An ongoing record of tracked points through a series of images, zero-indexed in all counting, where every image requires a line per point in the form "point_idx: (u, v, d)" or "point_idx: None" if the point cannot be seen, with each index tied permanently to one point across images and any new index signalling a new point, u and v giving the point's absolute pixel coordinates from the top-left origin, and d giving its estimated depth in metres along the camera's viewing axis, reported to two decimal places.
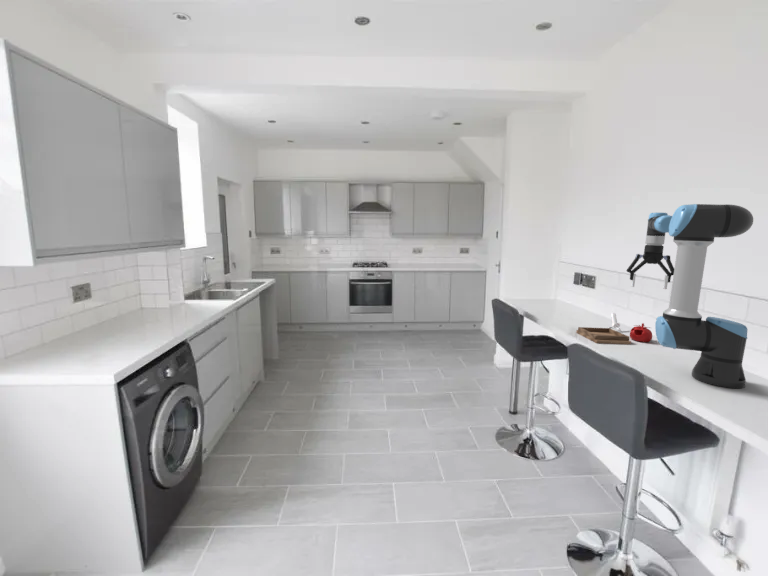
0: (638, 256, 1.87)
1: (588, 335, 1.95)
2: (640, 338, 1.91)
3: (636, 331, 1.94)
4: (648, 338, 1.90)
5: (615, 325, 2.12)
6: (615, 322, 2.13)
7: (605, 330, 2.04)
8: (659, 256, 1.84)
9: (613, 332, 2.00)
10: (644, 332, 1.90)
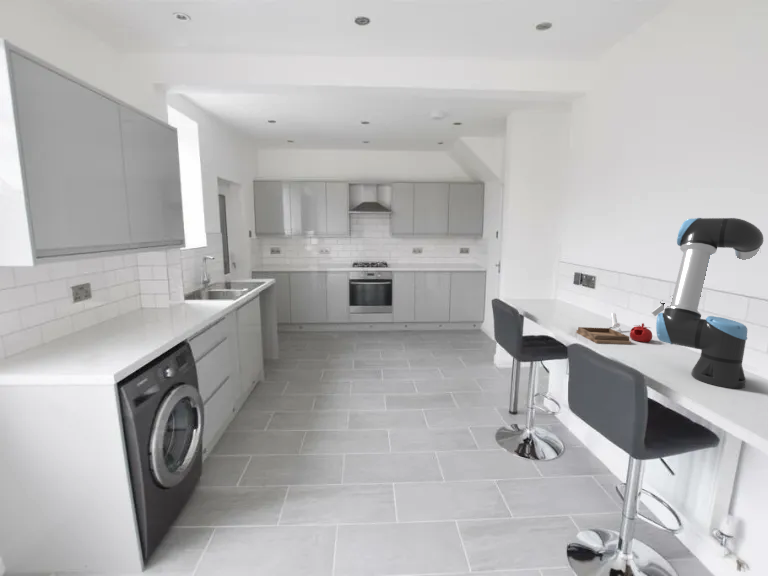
0: None
1: (588, 335, 1.95)
2: (640, 338, 1.91)
3: (636, 331, 1.94)
4: (648, 338, 1.90)
5: (615, 325, 2.12)
6: (615, 322, 2.13)
7: (605, 330, 2.04)
8: None
9: (613, 332, 2.00)
10: (644, 332, 1.90)
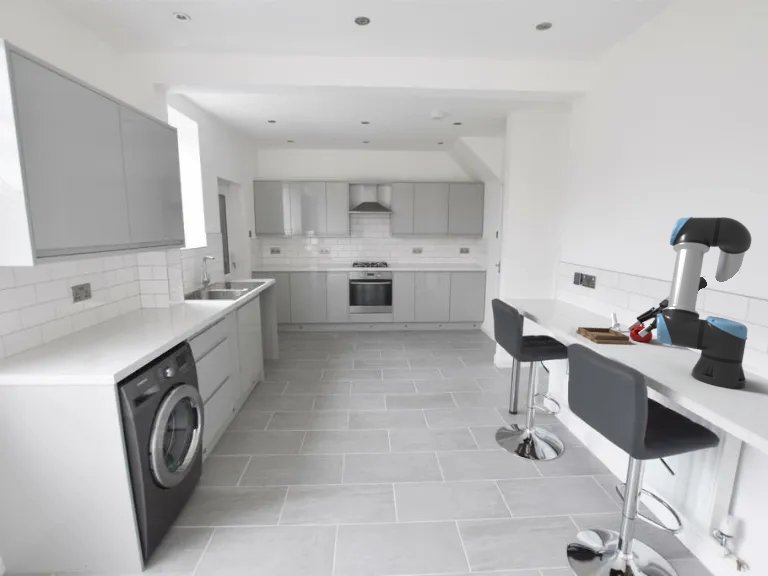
0: (651, 308, 1.98)
1: (588, 335, 1.95)
2: (640, 338, 1.91)
3: (636, 331, 1.94)
4: (648, 338, 1.90)
5: (615, 325, 2.12)
6: (615, 322, 2.13)
7: (605, 330, 2.04)
8: None
9: (613, 332, 2.00)
10: None
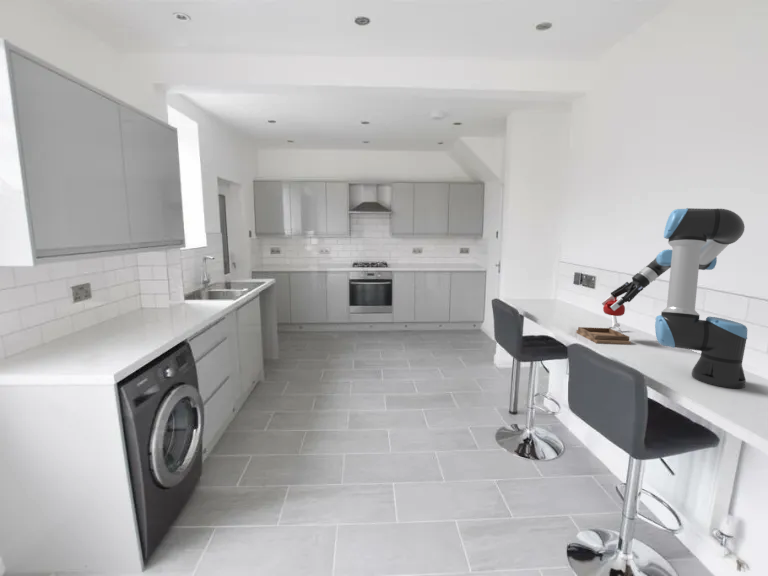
0: (625, 283, 1.99)
1: (588, 335, 1.95)
2: (613, 312, 1.91)
3: (609, 305, 1.95)
4: (620, 311, 1.91)
5: (615, 325, 2.12)
6: (615, 322, 2.13)
7: (605, 330, 2.04)
8: (636, 284, 1.90)
9: (613, 332, 2.00)
10: None
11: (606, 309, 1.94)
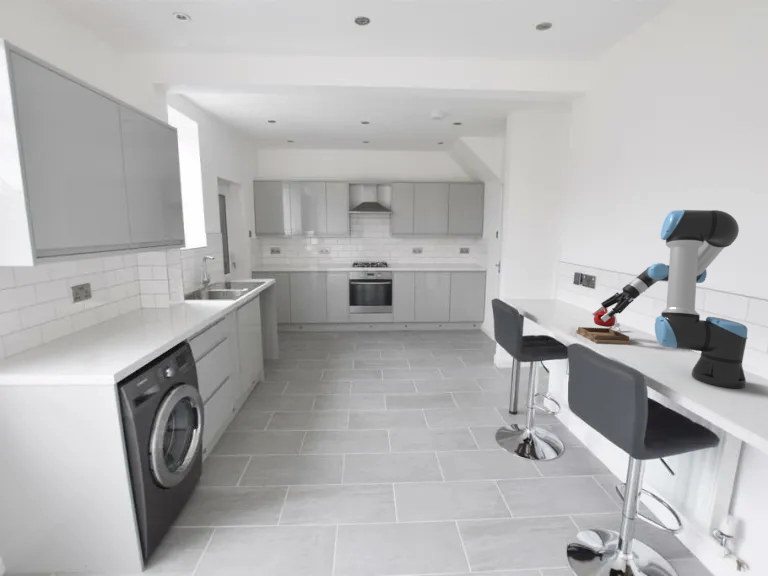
0: (616, 293, 1.99)
1: (588, 335, 1.95)
2: (603, 323, 1.92)
3: (600, 316, 1.95)
4: (611, 323, 1.92)
5: (615, 325, 2.12)
6: (615, 322, 2.13)
7: (605, 330, 2.04)
8: (626, 295, 1.91)
9: (613, 332, 2.00)
10: None
11: (597, 320, 1.95)
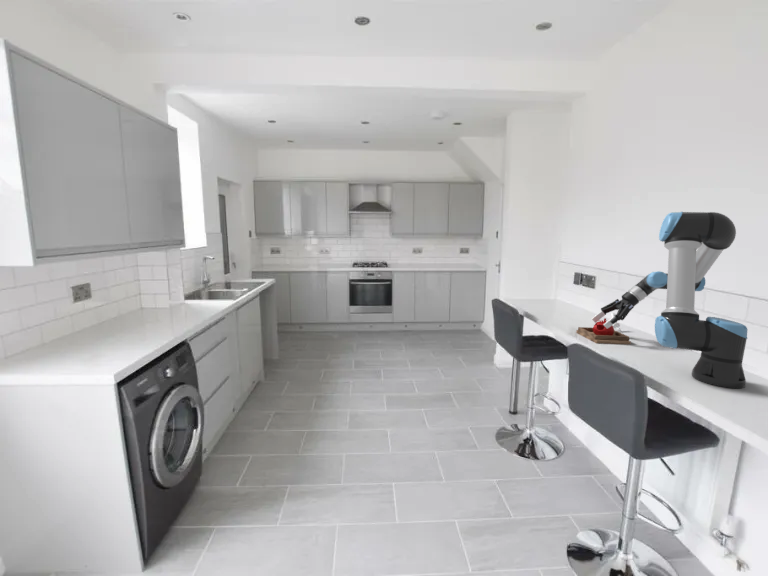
0: (616, 300, 2.00)
1: (588, 335, 1.95)
2: (602, 333, 1.93)
3: (598, 326, 1.96)
4: (610, 333, 1.92)
5: (615, 325, 2.12)
6: None
7: None
8: (625, 303, 1.91)
9: None
10: None
11: (595, 330, 1.95)
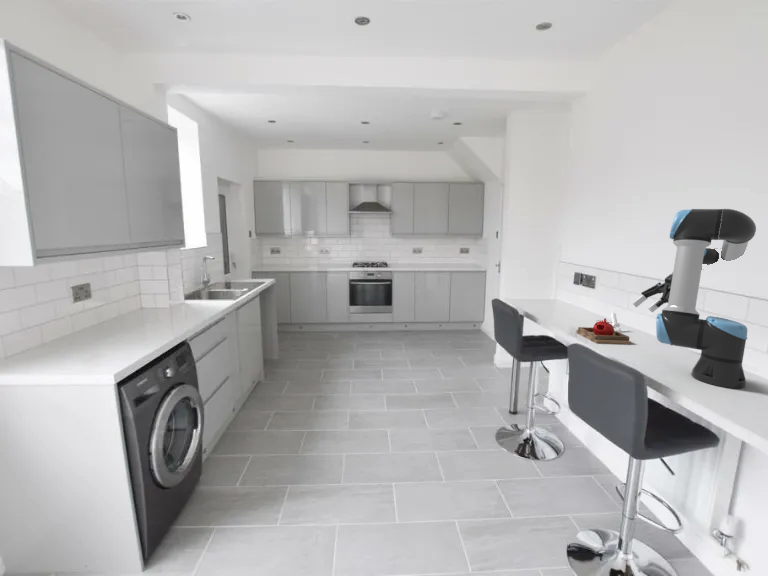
0: (658, 283, 1.93)
1: (588, 335, 1.95)
2: (602, 333, 1.93)
3: (598, 326, 1.96)
4: (610, 333, 1.92)
5: (615, 325, 2.12)
6: (615, 322, 2.13)
7: None
8: (670, 285, 1.85)
9: None
10: (606, 327, 1.92)
11: (595, 330, 1.95)
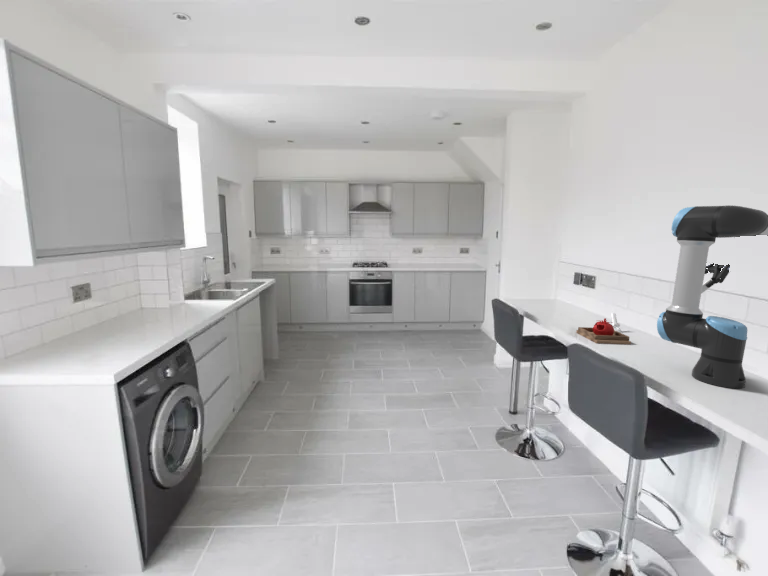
0: None
1: (588, 335, 1.95)
2: (602, 333, 1.93)
3: (598, 326, 1.96)
4: (610, 333, 1.92)
5: (615, 325, 2.12)
6: (615, 322, 2.13)
7: None
8: None
9: None
10: (606, 327, 1.92)
11: (595, 330, 1.95)
